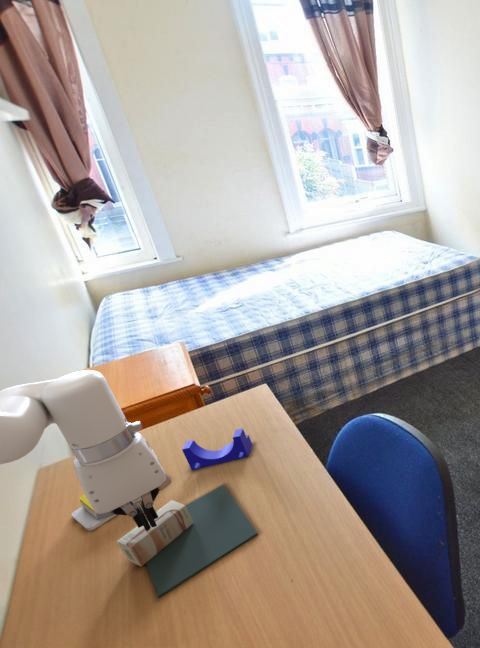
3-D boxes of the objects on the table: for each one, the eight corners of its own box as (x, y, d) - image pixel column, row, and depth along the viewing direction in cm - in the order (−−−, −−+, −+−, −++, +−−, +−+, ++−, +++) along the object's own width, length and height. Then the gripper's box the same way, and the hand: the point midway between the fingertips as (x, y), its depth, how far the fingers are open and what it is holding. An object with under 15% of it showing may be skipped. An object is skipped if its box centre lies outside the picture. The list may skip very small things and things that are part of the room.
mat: (158, 597, 78) (158, 596, 78) (135, 534, 91) (134, 533, 91) (257, 534, 88) (257, 532, 88) (224, 485, 101) (223, 484, 101)
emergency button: (162, 465, 103) (79, 515, 91) (170, 481, 104) (89, 532, 93) (142, 454, 107) (61, 500, 96) (150, 469, 109) (71, 516, 97)
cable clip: (252, 444, 114) (244, 424, 111) (248, 456, 110) (239, 436, 107) (198, 457, 111) (188, 437, 109) (191, 470, 107) (181, 449, 105)
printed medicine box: (130, 548, 81) (185, 504, 90) (115, 541, 83) (170, 498, 91) (143, 568, 83) (195, 523, 92) (127, 561, 85) (180, 517, 93)
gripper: (153, 412, 84) (191, 489, 91) (42, 458, 74) (94, 541, 81) (163, 428, 79) (202, 508, 86) (45, 480, 69) (101, 566, 76)
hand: (150, 524), depth 84 cm, fingers closed
